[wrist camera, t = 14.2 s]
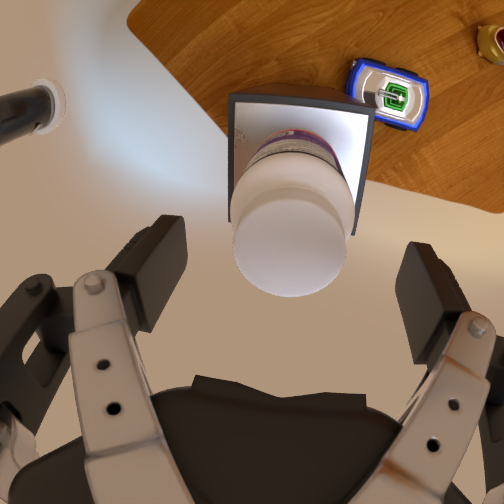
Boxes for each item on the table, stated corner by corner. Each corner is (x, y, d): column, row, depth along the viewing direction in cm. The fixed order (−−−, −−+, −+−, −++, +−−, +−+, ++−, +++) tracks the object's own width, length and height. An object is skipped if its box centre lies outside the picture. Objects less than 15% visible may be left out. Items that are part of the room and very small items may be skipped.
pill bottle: (325, 216, 20) (334, 324, 12) (246, 196, 20) (204, 292, 12) (350, 140, 17) (390, 205, 9) (262, 117, 17) (223, 160, 9)
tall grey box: (269, 140, 45) (226, 227, 22) (271, 82, 40) (226, 94, 17) (328, 146, 44) (355, 241, 21) (333, 88, 39) (377, 108, 16)
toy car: (348, 54, 36) (360, 49, 28) (423, 77, 35) (449, 80, 27) (338, 112, 41) (347, 121, 33) (412, 132, 40) (434, 146, 32)
